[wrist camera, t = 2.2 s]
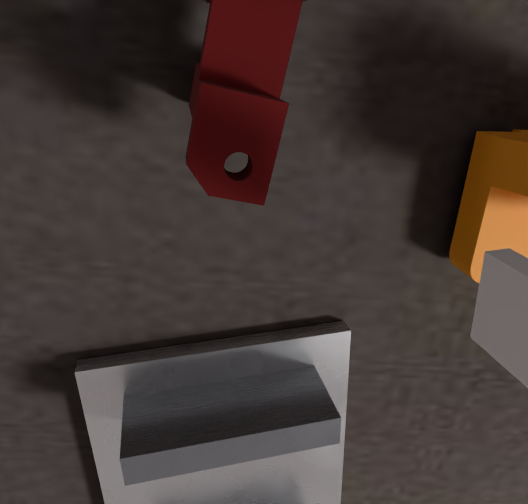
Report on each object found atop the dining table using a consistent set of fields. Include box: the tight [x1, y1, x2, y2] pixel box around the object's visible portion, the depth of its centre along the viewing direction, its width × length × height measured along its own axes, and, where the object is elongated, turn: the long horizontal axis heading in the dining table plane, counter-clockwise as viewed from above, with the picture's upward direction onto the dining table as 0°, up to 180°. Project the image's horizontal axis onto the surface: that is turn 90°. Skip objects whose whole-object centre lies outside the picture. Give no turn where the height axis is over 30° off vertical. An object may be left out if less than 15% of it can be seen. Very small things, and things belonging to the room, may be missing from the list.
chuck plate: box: [75, 321, 351, 504], centre depth 26 cm, size 18×14×5 cm
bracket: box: [186, 0, 306, 205], centre depth 17 cm, size 3×6×10 cm
